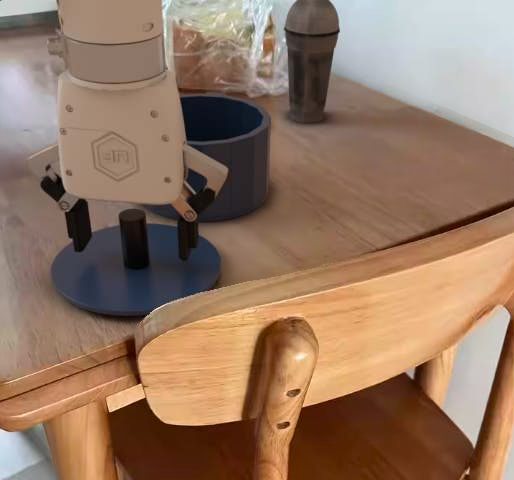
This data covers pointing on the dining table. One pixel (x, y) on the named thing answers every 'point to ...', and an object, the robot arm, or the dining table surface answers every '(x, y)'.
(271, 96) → the dining table surface
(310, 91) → the beverage cup
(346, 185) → the dining table surface
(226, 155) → the pot
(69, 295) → the lid
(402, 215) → the dining table surface
